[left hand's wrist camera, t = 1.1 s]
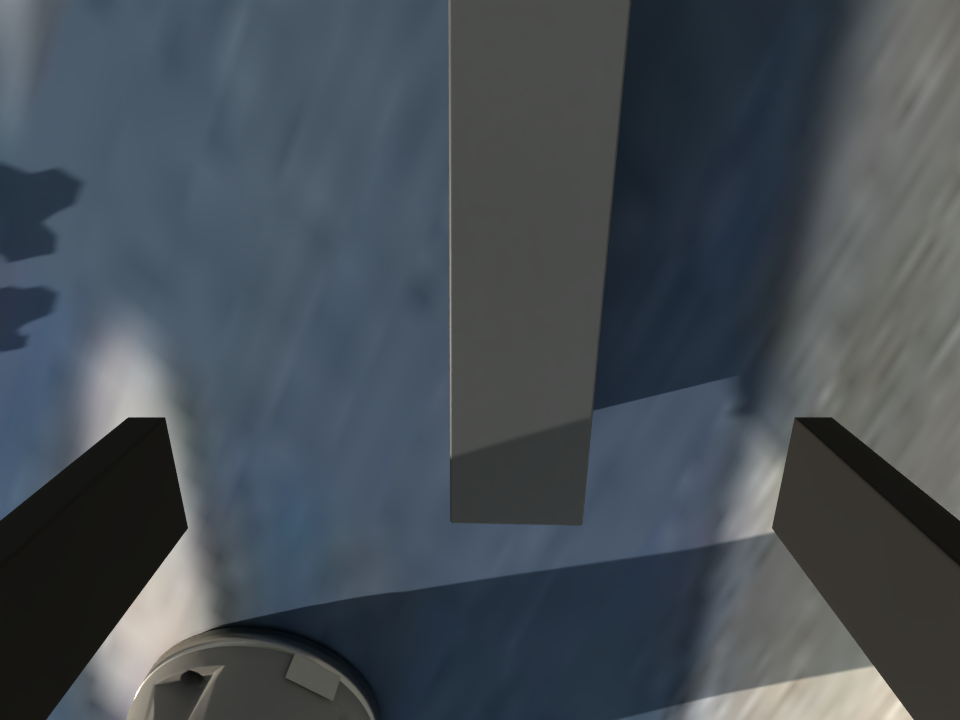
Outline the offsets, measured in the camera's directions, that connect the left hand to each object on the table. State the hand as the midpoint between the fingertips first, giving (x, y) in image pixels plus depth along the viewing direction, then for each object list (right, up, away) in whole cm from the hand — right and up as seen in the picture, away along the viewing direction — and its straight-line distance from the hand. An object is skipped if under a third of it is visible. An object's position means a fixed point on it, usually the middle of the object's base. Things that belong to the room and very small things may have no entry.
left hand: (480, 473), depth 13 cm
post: (+2, +35, +4) cm, 36 cm away
